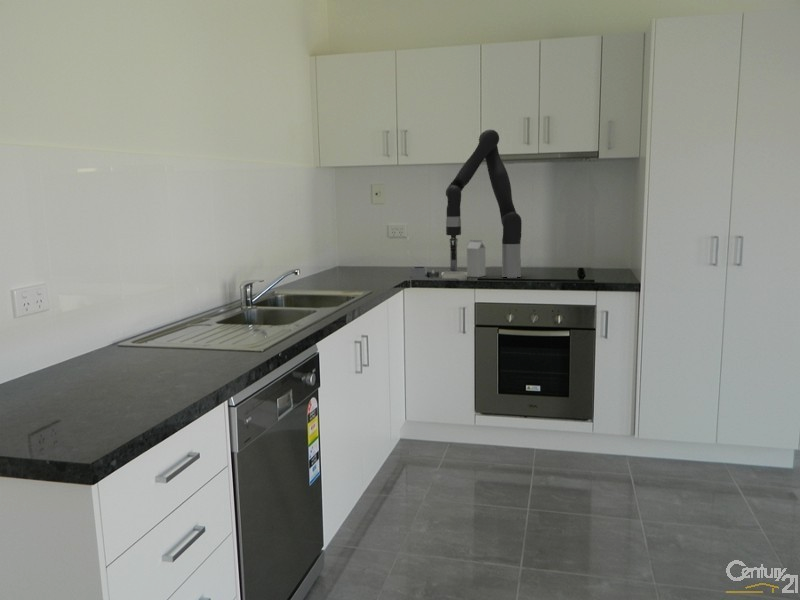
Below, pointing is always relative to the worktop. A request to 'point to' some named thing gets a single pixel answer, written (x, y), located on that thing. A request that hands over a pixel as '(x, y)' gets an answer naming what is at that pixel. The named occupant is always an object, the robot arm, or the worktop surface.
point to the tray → (455, 275)
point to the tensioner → (424, 273)
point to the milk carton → (475, 259)
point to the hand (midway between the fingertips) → (453, 259)
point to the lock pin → (453, 262)
